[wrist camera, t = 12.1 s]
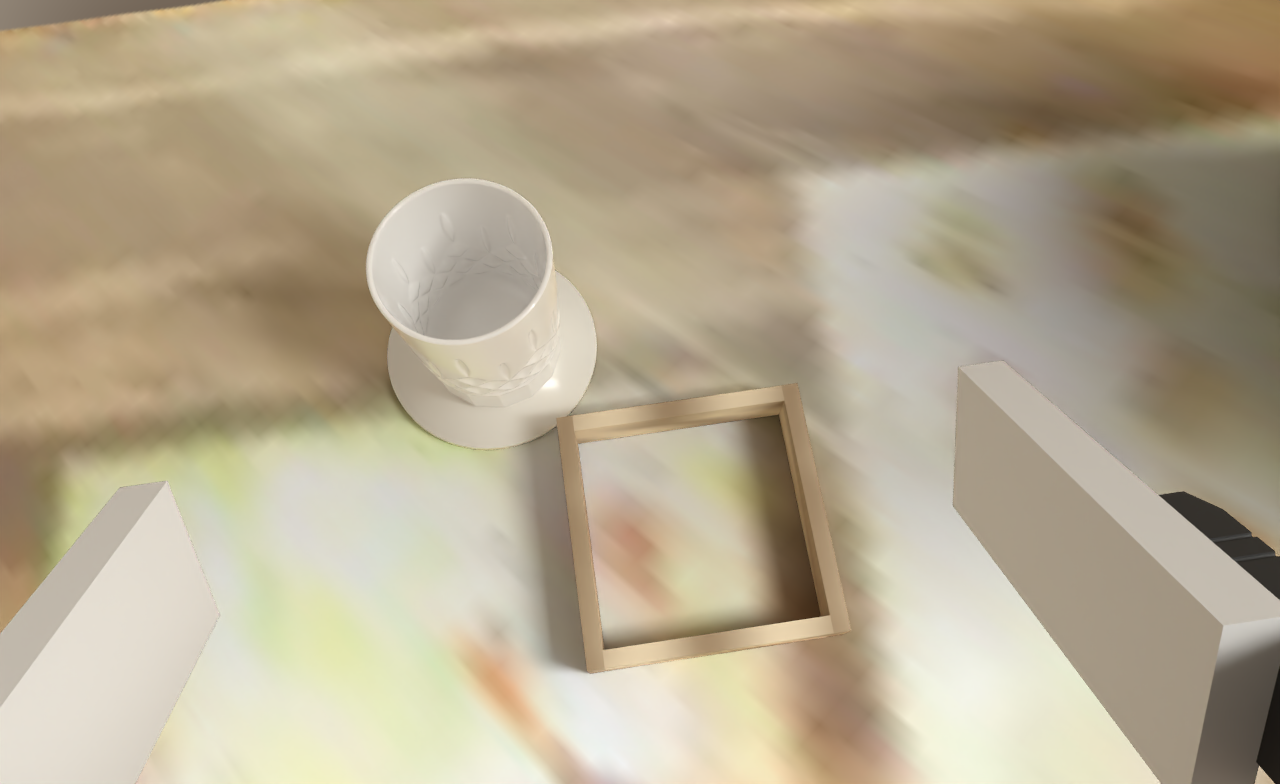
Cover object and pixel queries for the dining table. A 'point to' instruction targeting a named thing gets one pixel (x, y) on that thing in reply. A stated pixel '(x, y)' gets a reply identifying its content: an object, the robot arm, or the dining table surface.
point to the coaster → (501, 424)
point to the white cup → (470, 288)
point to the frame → (686, 416)
